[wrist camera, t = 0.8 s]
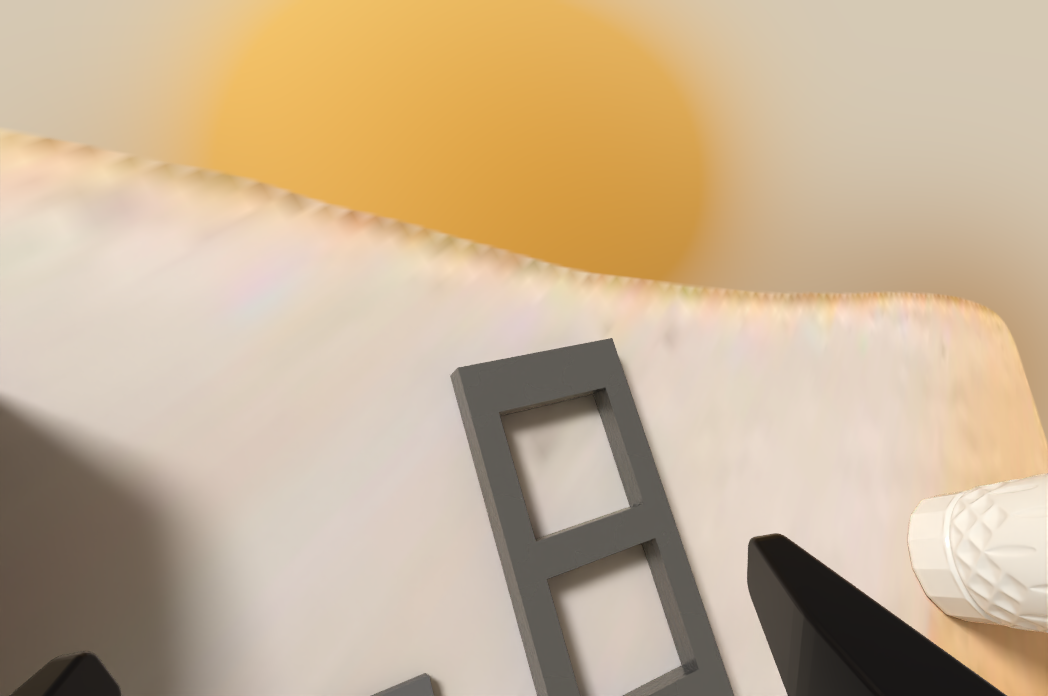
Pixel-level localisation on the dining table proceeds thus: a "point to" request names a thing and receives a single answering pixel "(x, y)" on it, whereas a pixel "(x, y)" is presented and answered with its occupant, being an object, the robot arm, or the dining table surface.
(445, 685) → the dining table surface
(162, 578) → the dining table surface
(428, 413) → the dining table surface
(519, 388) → the grey slotted frame
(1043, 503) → the white cup
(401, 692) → the rubber pad
